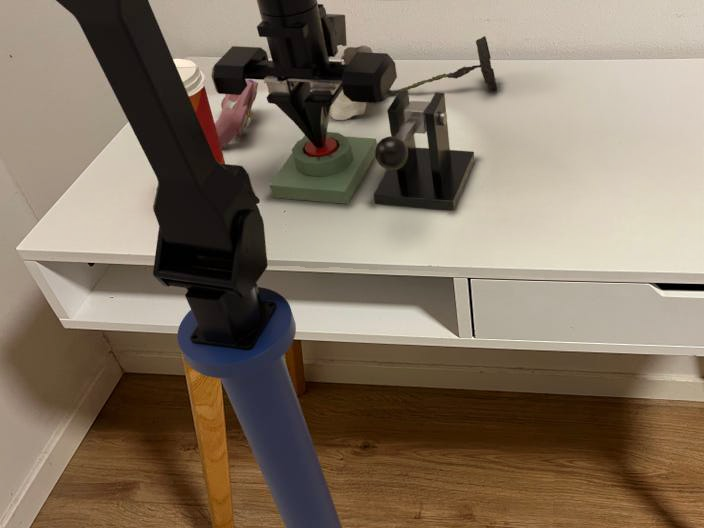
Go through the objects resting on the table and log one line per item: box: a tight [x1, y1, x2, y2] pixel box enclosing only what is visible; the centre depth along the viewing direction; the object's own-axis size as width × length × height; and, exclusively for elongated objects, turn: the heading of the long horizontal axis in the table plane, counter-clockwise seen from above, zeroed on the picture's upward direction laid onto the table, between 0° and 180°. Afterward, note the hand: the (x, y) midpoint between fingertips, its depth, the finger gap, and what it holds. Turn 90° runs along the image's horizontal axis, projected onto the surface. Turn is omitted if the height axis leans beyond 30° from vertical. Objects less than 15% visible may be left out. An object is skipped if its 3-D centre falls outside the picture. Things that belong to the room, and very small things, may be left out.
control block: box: [269, 131, 378, 205], centre depth 90 cm, size 11×9×4 cm
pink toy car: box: [214, 79, 259, 148], centre depth 98 cm, size 10×5×7 cm, turn 179°
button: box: [305, 137, 338, 157], centre depth 89 cm, size 4×4×2 cm
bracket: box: [373, 89, 475, 211], centre depth 86 cm, size 10×9×10 cm
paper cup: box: [173, 58, 226, 164], centre depth 86 cm, size 8×8×14 cm
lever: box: [375, 100, 431, 171], centre depth 80 cm, size 12×3×3 cm, turn 167°
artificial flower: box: [329, 35, 498, 121], centre depth 100 cm, size 9×22×10 cm, turn 96°
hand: (320, 145), depth 89 cm, fingers closed, pressing on button
